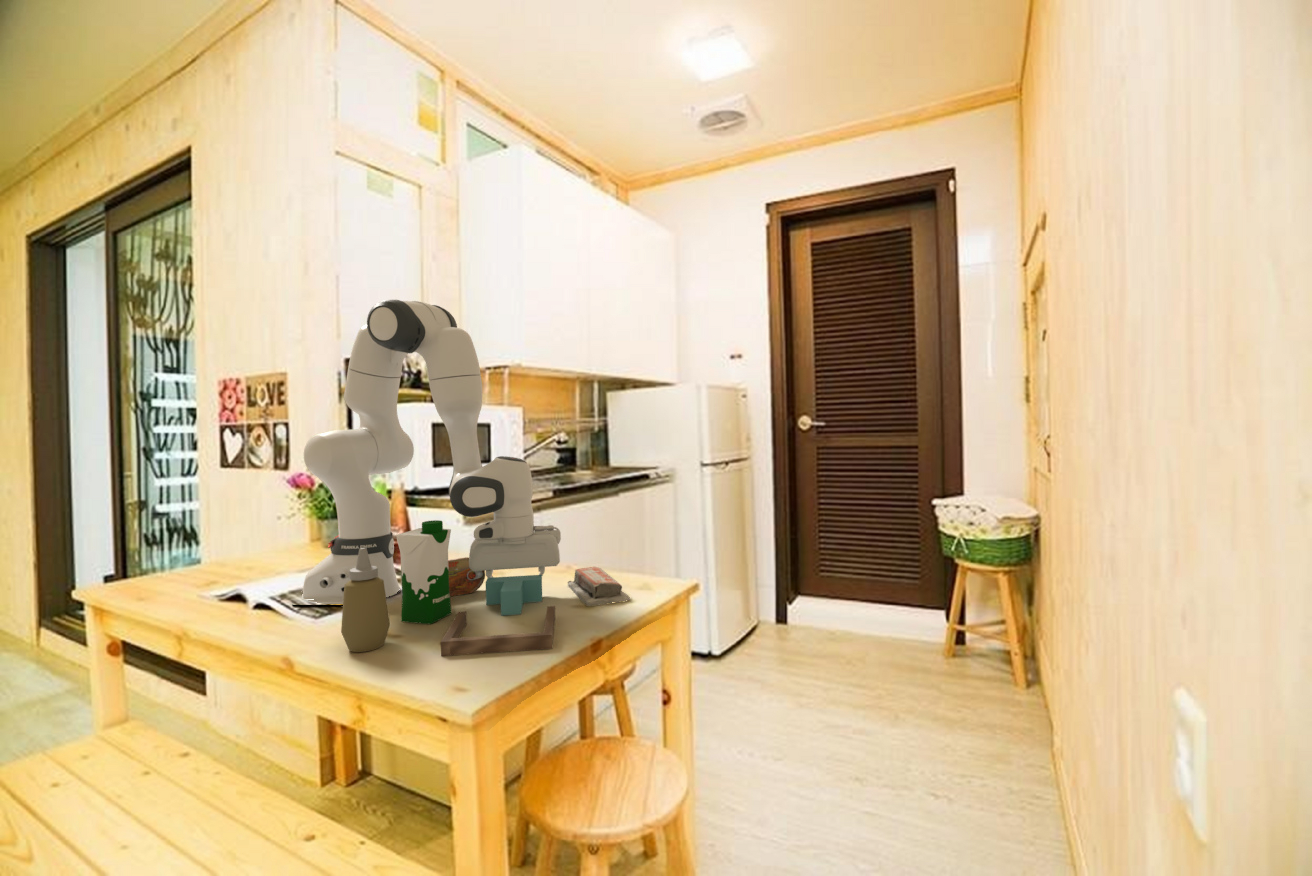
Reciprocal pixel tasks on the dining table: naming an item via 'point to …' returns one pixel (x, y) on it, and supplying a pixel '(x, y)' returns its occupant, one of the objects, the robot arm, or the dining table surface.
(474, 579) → the tin
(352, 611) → the squeeze bottle
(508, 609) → the teal T block
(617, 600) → the packaged product
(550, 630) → the walnut dock
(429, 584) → the milk carton
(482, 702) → the dining table surface
